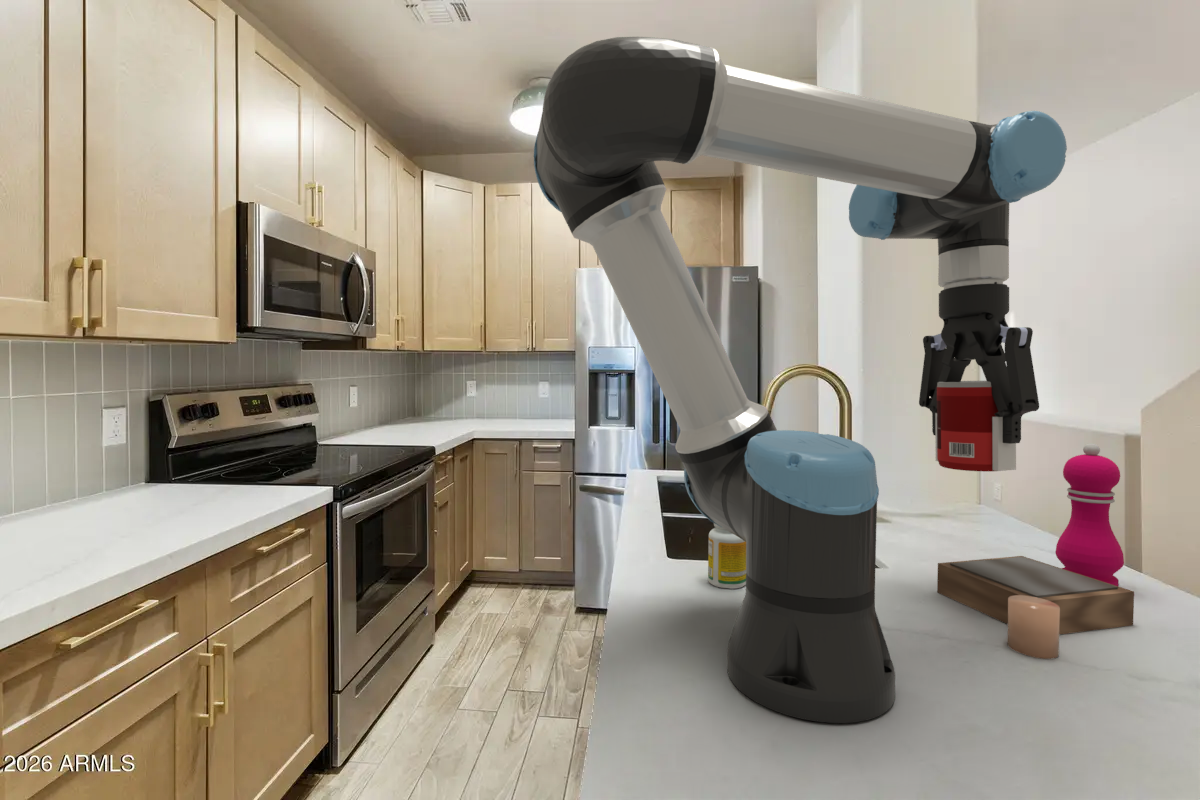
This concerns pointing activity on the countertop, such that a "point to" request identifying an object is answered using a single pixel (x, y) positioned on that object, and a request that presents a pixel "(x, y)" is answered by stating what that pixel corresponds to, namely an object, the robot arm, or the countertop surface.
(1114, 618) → the wooden box
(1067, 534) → the pepper mill
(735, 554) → the supplement bottle
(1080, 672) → the countertop surface
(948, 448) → the canned food
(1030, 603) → the peach pillar candle
